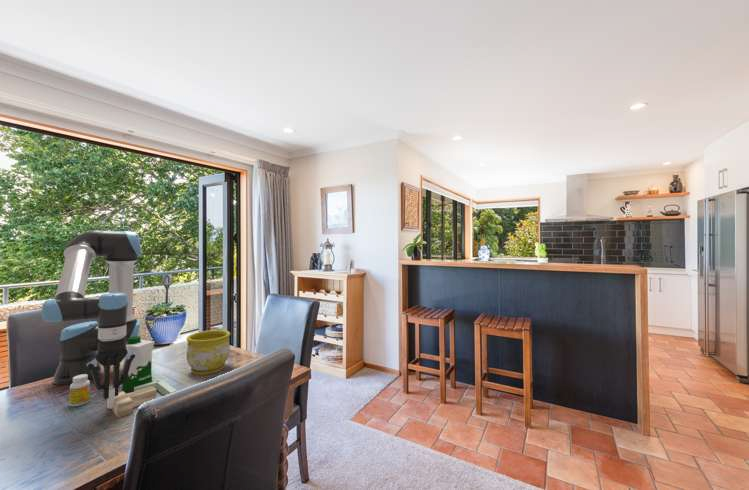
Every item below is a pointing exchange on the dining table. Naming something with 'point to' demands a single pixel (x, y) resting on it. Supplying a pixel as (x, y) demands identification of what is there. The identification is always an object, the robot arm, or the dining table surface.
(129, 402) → the t block
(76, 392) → the supplement bottle
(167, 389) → the corner stop
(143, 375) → the milk carton
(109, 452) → the dining table surface
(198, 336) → the flowerpot
